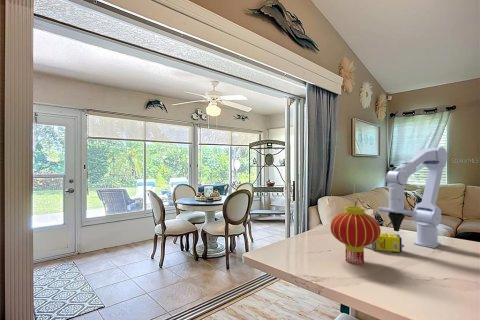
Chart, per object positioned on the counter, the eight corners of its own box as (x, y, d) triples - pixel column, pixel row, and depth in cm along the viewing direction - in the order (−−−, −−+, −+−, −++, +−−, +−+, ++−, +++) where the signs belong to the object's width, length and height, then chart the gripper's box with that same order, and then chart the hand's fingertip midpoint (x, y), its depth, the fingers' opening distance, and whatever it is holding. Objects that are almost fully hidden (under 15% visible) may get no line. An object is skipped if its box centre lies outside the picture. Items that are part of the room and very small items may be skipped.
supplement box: (401, 237, 107) (371, 235, 111) (402, 252, 107) (372, 249, 111) (398, 234, 113) (370, 231, 117) (399, 248, 113) (370, 245, 117)
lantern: (376, 256, 104) (375, 180, 105) (384, 273, 88) (384, 183, 88) (330, 251, 110) (330, 179, 110) (330, 267, 93) (330, 182, 94)
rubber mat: (369, 238, 129) (369, 237, 129) (403, 245, 118) (403, 244, 118) (353, 244, 119) (353, 243, 119) (389, 253, 107) (389, 252, 107)
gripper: (374, 197, 116) (374, 229, 115) (412, 201, 105) (413, 236, 104) (381, 196, 120) (381, 226, 120) (418, 200, 109) (418, 233, 109)
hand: (396, 230), depth 113 cm, fingers closed
